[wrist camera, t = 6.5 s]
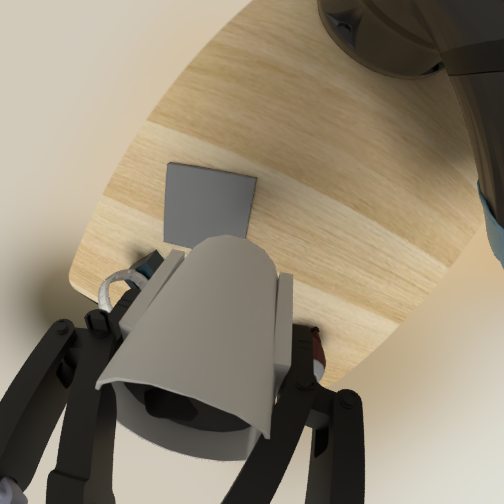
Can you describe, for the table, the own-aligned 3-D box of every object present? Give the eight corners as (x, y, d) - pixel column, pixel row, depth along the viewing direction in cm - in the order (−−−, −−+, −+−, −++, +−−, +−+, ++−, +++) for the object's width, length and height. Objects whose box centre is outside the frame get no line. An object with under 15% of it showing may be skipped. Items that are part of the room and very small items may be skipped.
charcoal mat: (256, 177, 28) (255, 179, 28) (242, 256, 33) (240, 260, 33) (170, 162, 29) (167, 163, 28) (166, 238, 34) (163, 241, 33)
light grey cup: (235, 333, 19) (201, 466, 10) (159, 273, 17) (78, 398, 8) (309, 282, 16) (313, 447, 7) (224, 203, 14) (132, 347, 6)
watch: (158, 297, 39) (124, 349, 30) (124, 255, 36) (81, 302, 27) (184, 285, 37) (151, 342, 28) (149, 239, 34) (103, 287, 25)
